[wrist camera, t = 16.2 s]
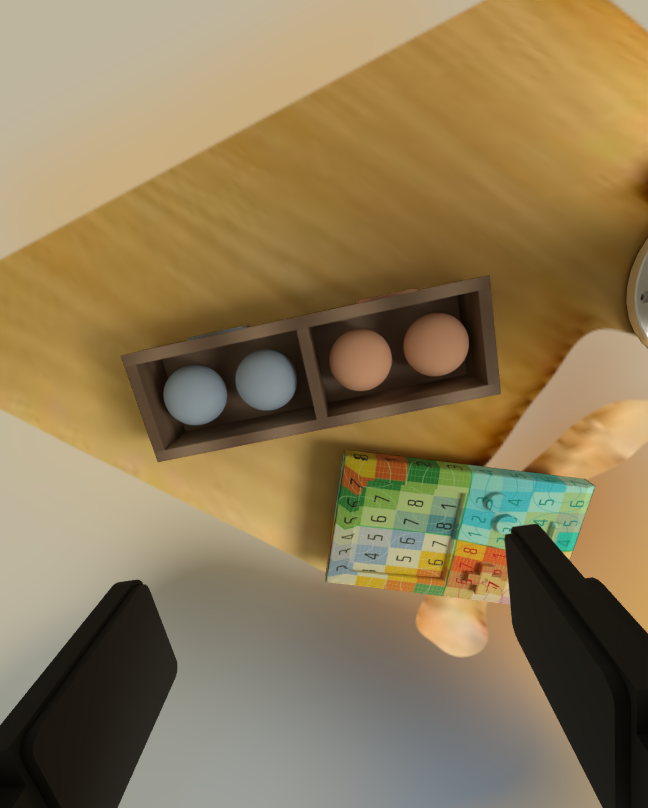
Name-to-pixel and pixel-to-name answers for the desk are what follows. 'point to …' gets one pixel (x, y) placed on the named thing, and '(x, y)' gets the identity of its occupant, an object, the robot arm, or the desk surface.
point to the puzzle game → (443, 523)
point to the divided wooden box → (319, 370)
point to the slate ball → (266, 379)
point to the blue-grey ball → (195, 394)
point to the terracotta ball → (360, 359)
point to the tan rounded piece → (436, 344)
